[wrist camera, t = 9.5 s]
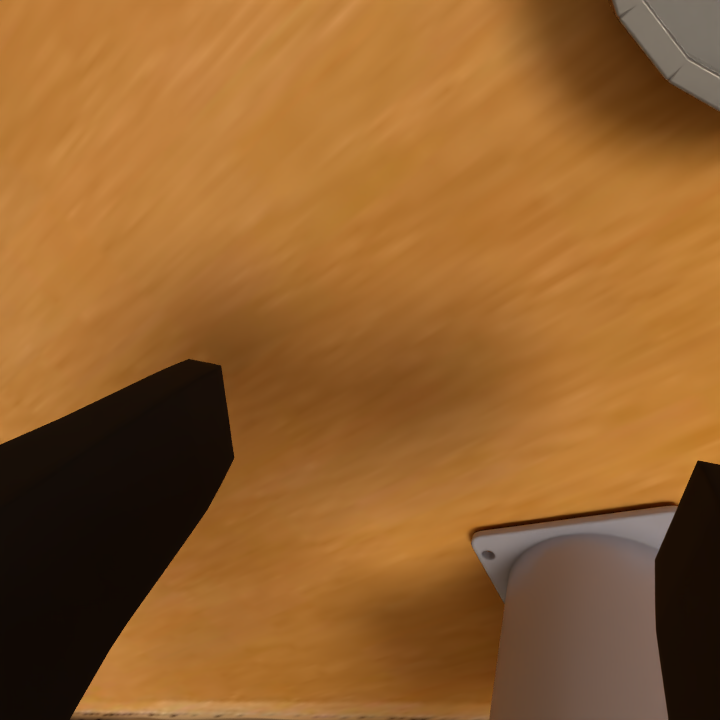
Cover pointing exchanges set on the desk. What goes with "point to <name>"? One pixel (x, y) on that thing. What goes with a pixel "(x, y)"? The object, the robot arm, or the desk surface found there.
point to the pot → (678, 41)
